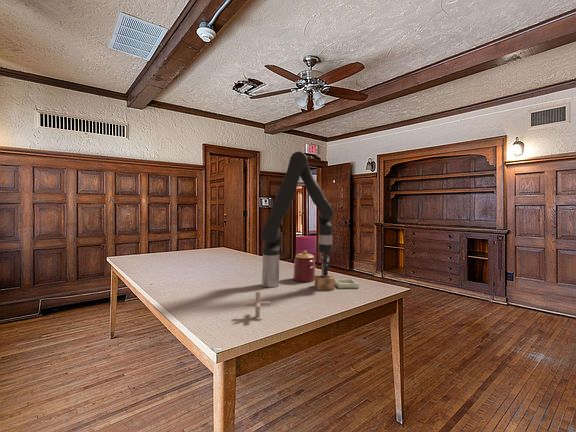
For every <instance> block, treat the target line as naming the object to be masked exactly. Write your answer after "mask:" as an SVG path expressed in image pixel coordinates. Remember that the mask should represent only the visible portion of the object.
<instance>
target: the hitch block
mask: <svg viewBox="0 0 576 432" xmlns="http://www.w3.org/2000/svg"><path fill="white" fill-rule="evenodd" d="M335 279H336V278H335V277H334V276H332V275H331V274H328V278H322V274H315V280H314V287H315V288H316V289H317V290H318V291H335V290H336V285H335Z"/></svg>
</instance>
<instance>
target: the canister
mask: <svg viewBox="0 0 576 432" xmlns="http://www.w3.org/2000/svg"><path fill="white" fill-rule="evenodd" d="M293 261H294V264H293V280H294V281H295V282H300V283H311V282H315V275H316V265H315V263H316V259H315V256H314V255H313V254H311V253H308V251H307V250H303V251H302V253H297V254H296V255H295V258H294V259H293Z"/></svg>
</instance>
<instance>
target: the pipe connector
mask: <svg viewBox="0 0 576 432" xmlns="http://www.w3.org/2000/svg"><path fill="white" fill-rule="evenodd" d="M271 303H272V302H271V301H261V291H260V290H256V291H255V301H245V302H244V306H245V307H254V308H255V309H254V310H255V312H254V313H255V318H261V307H271Z"/></svg>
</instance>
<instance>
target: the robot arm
mask: <svg viewBox="0 0 576 432" xmlns="http://www.w3.org/2000/svg"><path fill="white" fill-rule="evenodd" d="M286 170H287V171H286V173H285V175H284V177H283V180H282V182H281V184H280V185H279V188H278V191H277V193H276V196H275V197H274V201H273V204H272V206H271V209H270V213H269V215H268V217H267V220H266V222H265V224H264V226H263V228H262V229H261V238H262V241H263V242H264V247H263V248H262V266H261V267H262V269H261V286H262V287H265V288H276V287H279V286H280V251H281V247H282V246H281V245H282V233H281V232H282V231H281V229H280V225H281V222H282V221H283V219H284V217H285V215H287V213H288V211H289V209H290V208H291V205H292V203H293V200H294V198H295V195H296V193H297V192H296V191H297V188H298V184H299V179H301V180H302V182H303V185H304V186H305V189H306V191H307V194H308V196H309V197H310V199H311V201H312V202H313V204H314V205H315V206H316V207H317V210H318V221H319V222H318V223H319V227H318V228H319V230H318V232H319V233H318V242H317V243H318V249H317V251H318V252H319V253H321V254H320V255H319V257H320V266H321V267H322V264H323V268H324V270H323V275H324V276H327V275H329V274H328V273H329V269H330V264H331V258H330V255H329V254H330V253H332V252H333V225H332V218H333V217H334V215H335V214H334V213H335V212H334V209H333V207H332V205H330V203H329V200H327V198H326V196H325V193H324V192H323V190H322V189H321V187H320V185H319V183H318V182H317V180H316V178H315V177H314V175H313V173H312V171H311V169H310V165H309V163H308V156H307V155H306V154H305V153H304V152H303V151H295V152H294V153H292V154H291V156H290V157H289V162H288V166H287V169H286ZM324 262H325V263H324ZM326 265H327V266H326Z"/></svg>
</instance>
